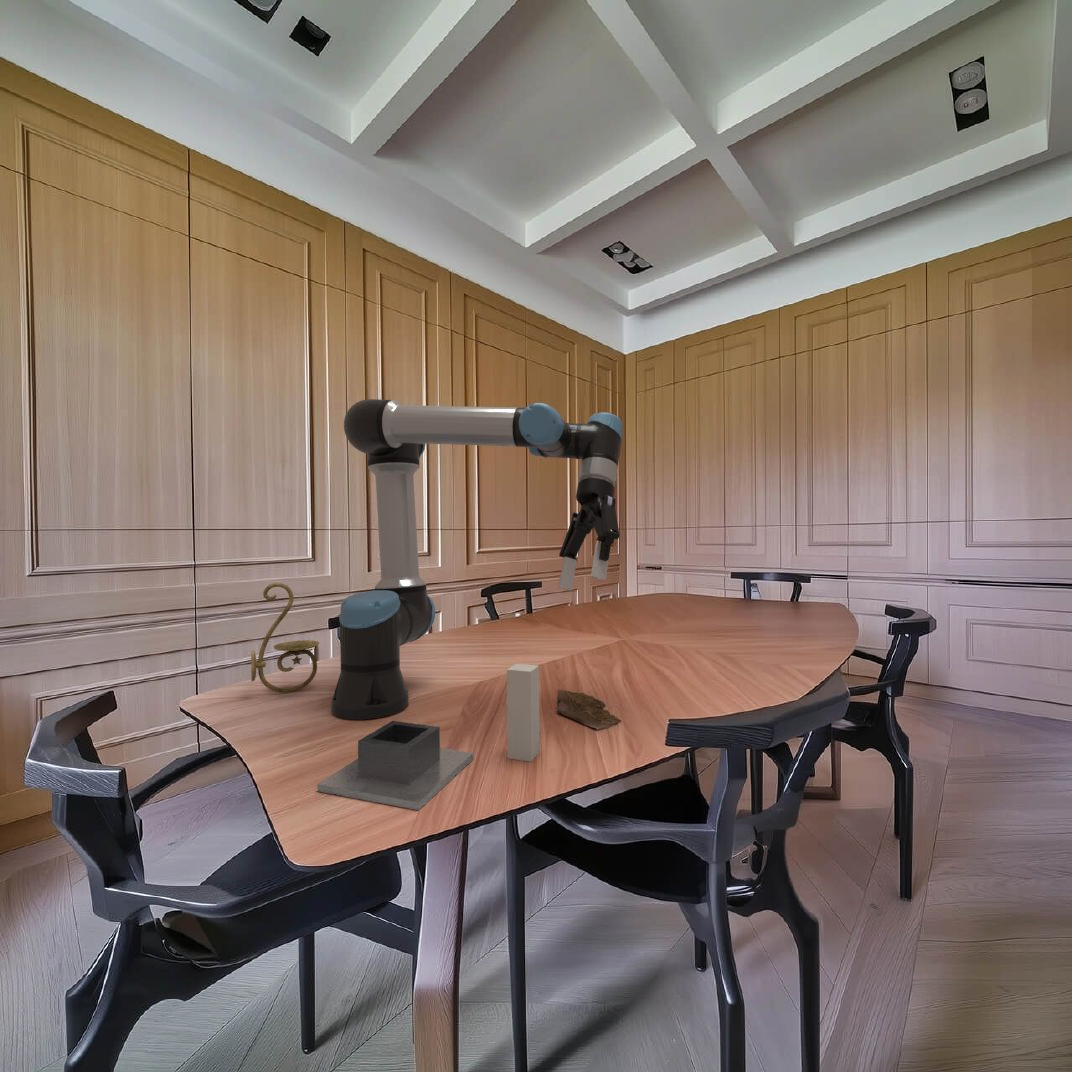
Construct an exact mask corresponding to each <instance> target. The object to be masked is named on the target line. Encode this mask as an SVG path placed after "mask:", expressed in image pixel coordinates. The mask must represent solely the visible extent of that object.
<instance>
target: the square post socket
mask: <svg viewBox="0 0 1072 1072" xmlns="http://www.w3.org/2000/svg"><path fill="white" fill-rule="evenodd" d="M440 733H441V729H440V726H435V725H428V724H427V725H426V724H420V723H414V722H413V723H412V722H405V721H396V720H392V721H390V722H388V723H386V724H384V725H383V726H381V727H379V728H378V729H376V730H374V731H372V732H370V733H369V734H367V735H366V736H364V737H361V738H360V739H359V740H357V759H355V760H353V761H352V762H350V763H349V764H347V765H345V766H344V767H342V768H340V769H339V770H337V771H336V772H334V773H332V774H331V775H330V776H328V777H327V778H325V779H323V780H322V781H320V782H319V783H317V784H316V785H317V787H316V789H317V792H319V793H325V794H330V795H334V794H338V795H337V796H339V795H342V796H341V797H345V796H346V797H345V798H351V799H356V800H361V801H367V802H372V803H378V804H383V805H388V806H392V807H398V808H405V809H410V810H413V811H420V810H421V808H423V807H424V806H425V805H426V804H427V803H428V802H429V801H430V800H432V799H433V798H434V797H435V796H436V795H437V794H439V792H440V791H441V790H442V789H443V788H444V787H445V786H446V785H447V784H449V783H450V781H451V782H452V780H453V779H454V778H455V777H456V776H457V775H458V774H460V772H461V771H462V770H463V769H464V768H466V767H467V766H468V764H470V763H471V762H472V761H473V760H474V752H470V751H464V750H456V749H449V748H442V747H440V745H441V740H440V735H441V734H440ZM466 765H467V766H466ZM456 774H457V775H456ZM455 775H456V776H455ZM451 779H452V780H451Z"/></svg>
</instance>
